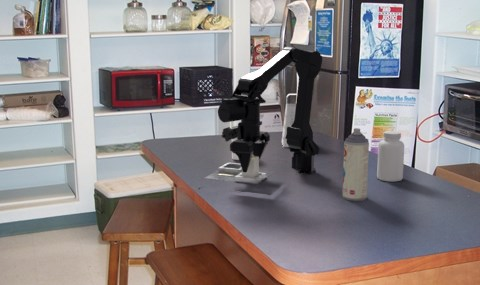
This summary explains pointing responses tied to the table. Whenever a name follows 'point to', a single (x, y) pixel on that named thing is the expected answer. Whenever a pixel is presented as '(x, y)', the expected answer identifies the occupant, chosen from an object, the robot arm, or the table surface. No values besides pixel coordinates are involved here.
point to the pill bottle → (390, 157)
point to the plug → (252, 168)
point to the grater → (288, 120)
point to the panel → (237, 174)
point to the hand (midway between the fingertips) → (250, 168)
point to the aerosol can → (355, 167)
